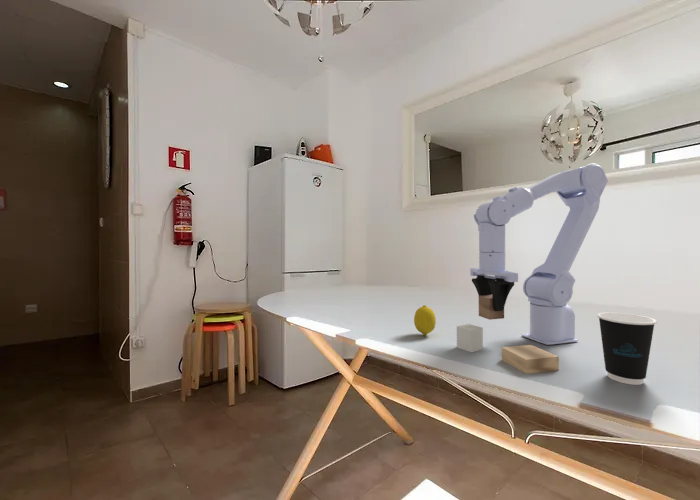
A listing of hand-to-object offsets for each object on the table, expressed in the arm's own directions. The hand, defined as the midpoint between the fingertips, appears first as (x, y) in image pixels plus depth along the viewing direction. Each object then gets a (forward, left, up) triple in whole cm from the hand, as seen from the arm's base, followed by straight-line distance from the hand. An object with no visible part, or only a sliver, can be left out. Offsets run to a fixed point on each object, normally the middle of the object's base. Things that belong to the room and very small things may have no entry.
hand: (492, 308), depth 77 cm
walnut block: (0, 0, -2) cm, 2 cm away
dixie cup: (-9, +23, -9) cm, 26 cm away
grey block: (+7, +1, -8) cm, 11 cm away
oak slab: (+2, +13, -9) cm, 16 cm away
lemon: (+12, -11, -9) cm, 18 cm away
